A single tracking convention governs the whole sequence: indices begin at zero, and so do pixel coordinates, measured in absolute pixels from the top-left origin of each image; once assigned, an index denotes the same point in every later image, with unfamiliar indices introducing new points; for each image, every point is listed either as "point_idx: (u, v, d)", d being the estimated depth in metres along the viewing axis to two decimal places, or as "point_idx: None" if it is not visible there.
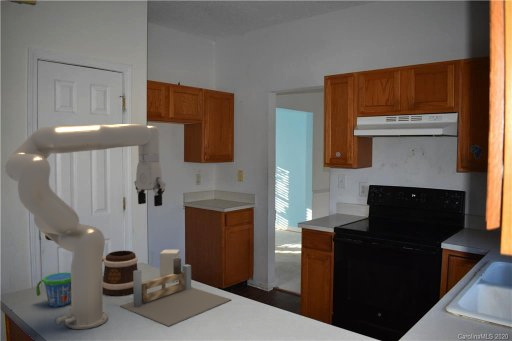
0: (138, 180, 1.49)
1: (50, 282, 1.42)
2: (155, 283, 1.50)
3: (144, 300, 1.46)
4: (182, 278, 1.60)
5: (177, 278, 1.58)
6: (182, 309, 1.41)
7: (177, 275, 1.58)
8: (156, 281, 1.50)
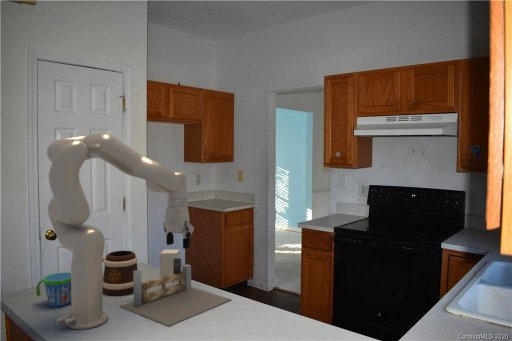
0: (167, 223, 1.58)
1: (50, 282, 1.42)
2: (155, 283, 1.50)
3: (144, 300, 1.46)
4: (182, 278, 1.60)
5: (177, 278, 1.58)
6: (182, 309, 1.41)
7: (177, 275, 1.58)
8: (156, 281, 1.50)
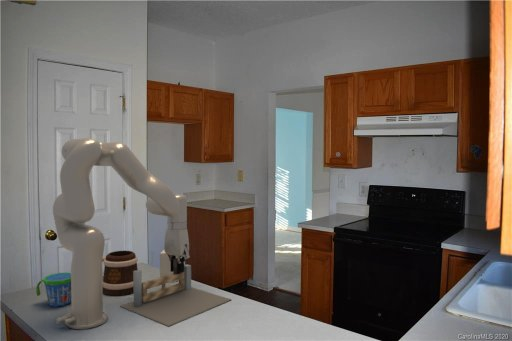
0: (166, 245, 1.58)
1: (50, 282, 1.42)
2: (155, 283, 1.50)
3: (144, 300, 1.46)
4: (182, 278, 1.60)
5: (177, 278, 1.58)
6: (182, 309, 1.41)
7: (177, 275, 1.58)
8: (156, 281, 1.50)
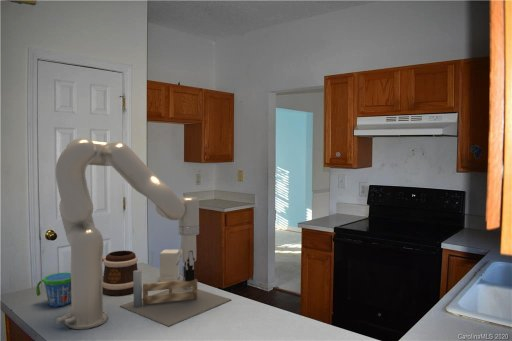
0: (180, 249, 1.52)
1: (50, 282, 1.42)
2: (158, 286, 1.46)
3: (144, 301, 1.45)
4: (194, 286, 1.50)
5: (187, 285, 1.49)
6: (182, 309, 1.41)
7: (187, 282, 1.49)
8: (159, 284, 1.46)
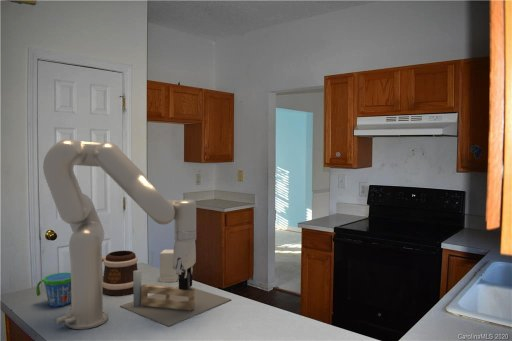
0: None
1: (50, 282, 1.42)
2: (155, 290, 1.42)
3: (142, 303, 1.43)
4: (190, 297, 1.39)
5: (183, 294, 1.40)
6: (182, 309, 1.41)
7: (183, 291, 1.40)
8: (156, 288, 1.42)
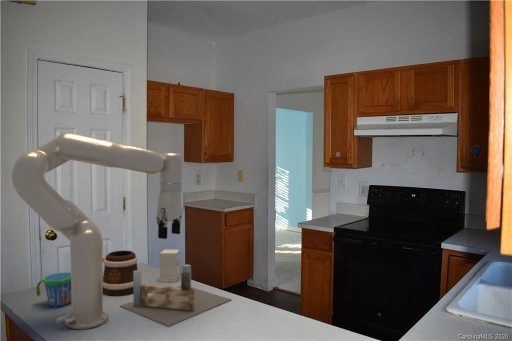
0: None
1: (50, 282, 1.42)
2: (155, 290, 1.42)
3: (142, 303, 1.43)
4: (190, 297, 1.39)
5: (183, 294, 1.40)
6: (182, 309, 1.41)
7: (183, 291, 1.40)
8: (156, 288, 1.42)
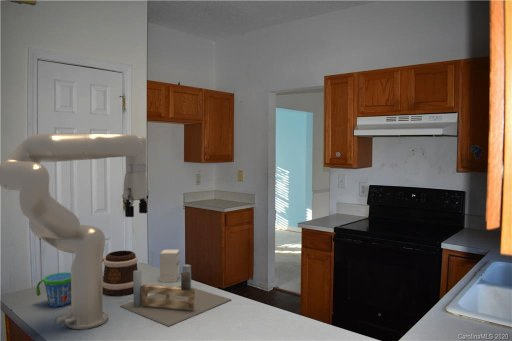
0: None
1: (50, 282, 1.42)
2: (155, 290, 1.42)
3: (142, 303, 1.43)
4: (190, 297, 1.39)
5: (183, 294, 1.40)
6: (182, 309, 1.41)
7: (183, 291, 1.40)
8: (156, 288, 1.42)
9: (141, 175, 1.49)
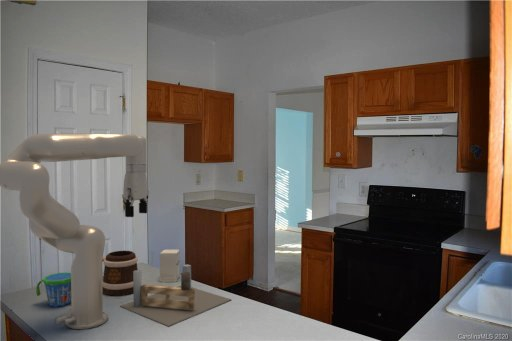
0: None
1: (50, 282, 1.42)
2: (155, 290, 1.42)
3: (142, 303, 1.43)
4: (190, 297, 1.39)
5: (183, 294, 1.40)
6: (182, 309, 1.41)
7: (183, 291, 1.40)
8: (156, 288, 1.42)
9: (141, 175, 1.49)
